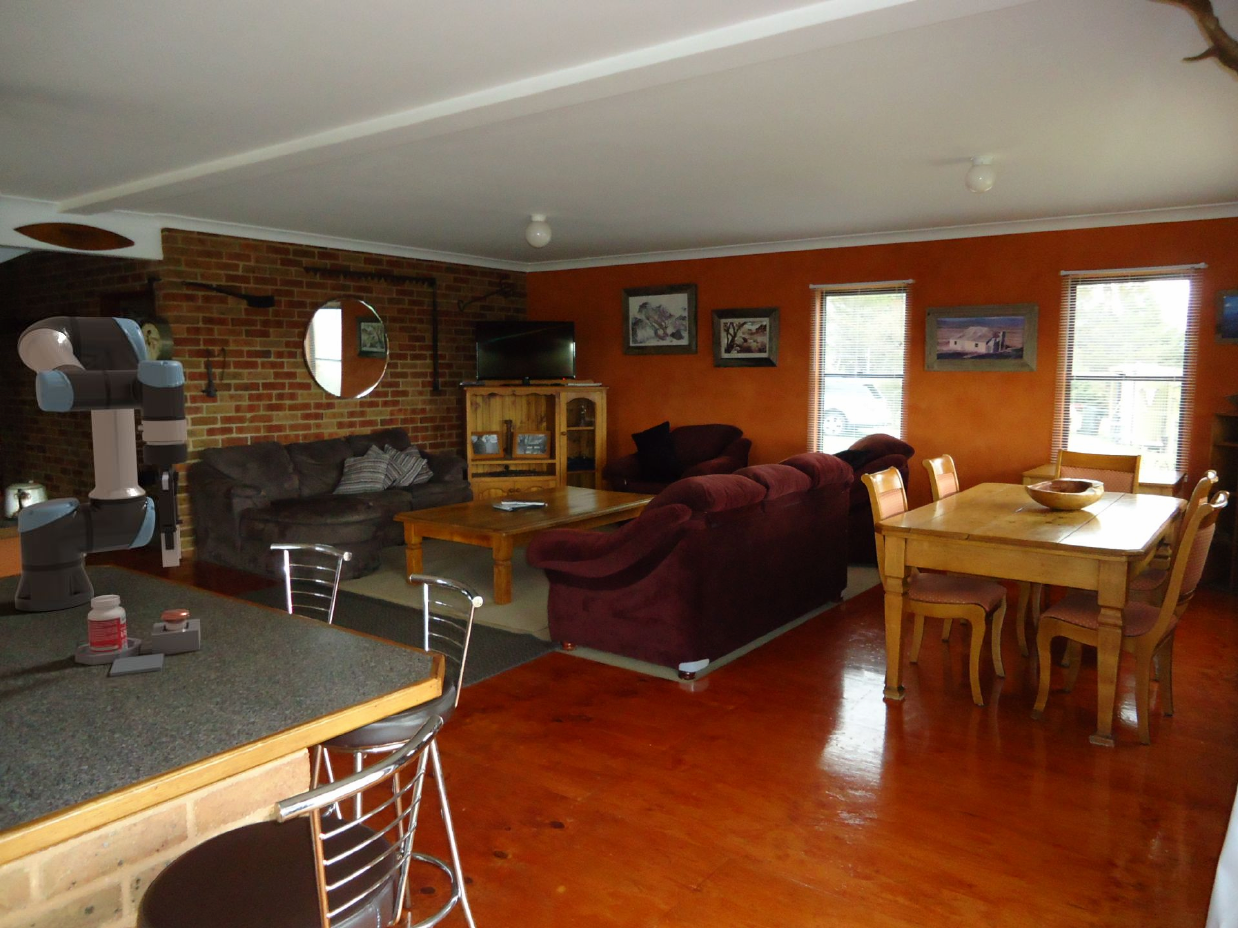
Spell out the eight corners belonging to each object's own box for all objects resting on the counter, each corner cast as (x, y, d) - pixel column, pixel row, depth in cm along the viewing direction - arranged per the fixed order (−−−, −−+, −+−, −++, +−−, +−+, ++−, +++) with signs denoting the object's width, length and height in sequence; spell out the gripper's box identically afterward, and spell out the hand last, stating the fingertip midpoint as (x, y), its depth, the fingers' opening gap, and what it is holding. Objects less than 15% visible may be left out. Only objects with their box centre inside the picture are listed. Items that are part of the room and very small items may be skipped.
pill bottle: (129, 656, 163) (125, 599, 162) (91, 662, 160) (87, 604, 158) (126, 647, 168) (122, 591, 167) (89, 652, 165) (85, 596, 164)
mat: (115, 661, 160) (115, 658, 160) (164, 655, 163) (163, 652, 163) (109, 676, 153) (109, 673, 153) (161, 669, 156) (160, 666, 156)
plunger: (164, 640, 170) (162, 610, 169) (191, 637, 172) (189, 607, 171) (162, 647, 165) (160, 617, 165) (190, 644, 167) (188, 614, 167)
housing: (81, 649, 167) (80, 629, 166) (200, 636, 175) (199, 616, 174) (72, 667, 157) (71, 646, 157) (199, 652, 166) (198, 631, 165)
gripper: (146, 438, 171) (154, 553, 174) (137, 448, 154) (145, 575, 157) (189, 437, 174) (195, 550, 177) (185, 446, 157) (192, 571, 160)
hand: (172, 561), depth 167 cm, fingers open, 6 cm apart
